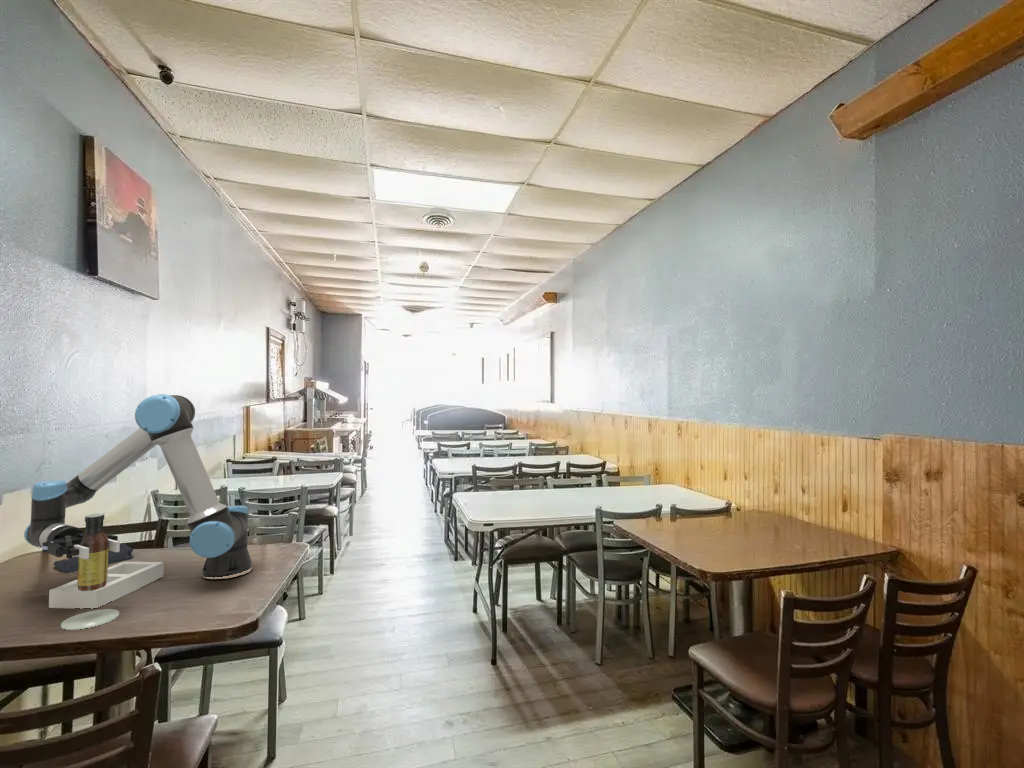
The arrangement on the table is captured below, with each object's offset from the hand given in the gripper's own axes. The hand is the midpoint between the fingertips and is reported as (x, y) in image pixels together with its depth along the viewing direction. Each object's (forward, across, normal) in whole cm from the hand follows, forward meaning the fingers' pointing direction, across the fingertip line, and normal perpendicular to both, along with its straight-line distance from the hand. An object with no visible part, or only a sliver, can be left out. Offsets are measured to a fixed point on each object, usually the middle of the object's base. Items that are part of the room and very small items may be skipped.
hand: (102, 550), depth 131 cm
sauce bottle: (-5, 0, -11) cm, 12 cm away
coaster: (-5, 0, -20) cm, 20 cm away
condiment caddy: (-24, -13, -19) cm, 34 cm away
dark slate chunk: (-63, -25, -20) cm, 70 cm away
